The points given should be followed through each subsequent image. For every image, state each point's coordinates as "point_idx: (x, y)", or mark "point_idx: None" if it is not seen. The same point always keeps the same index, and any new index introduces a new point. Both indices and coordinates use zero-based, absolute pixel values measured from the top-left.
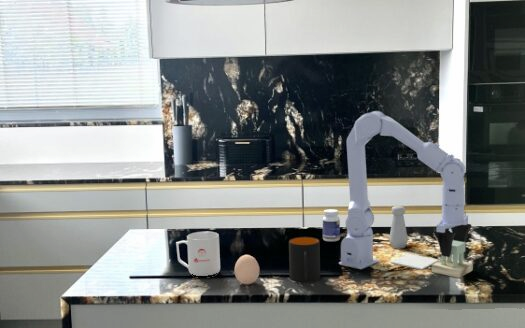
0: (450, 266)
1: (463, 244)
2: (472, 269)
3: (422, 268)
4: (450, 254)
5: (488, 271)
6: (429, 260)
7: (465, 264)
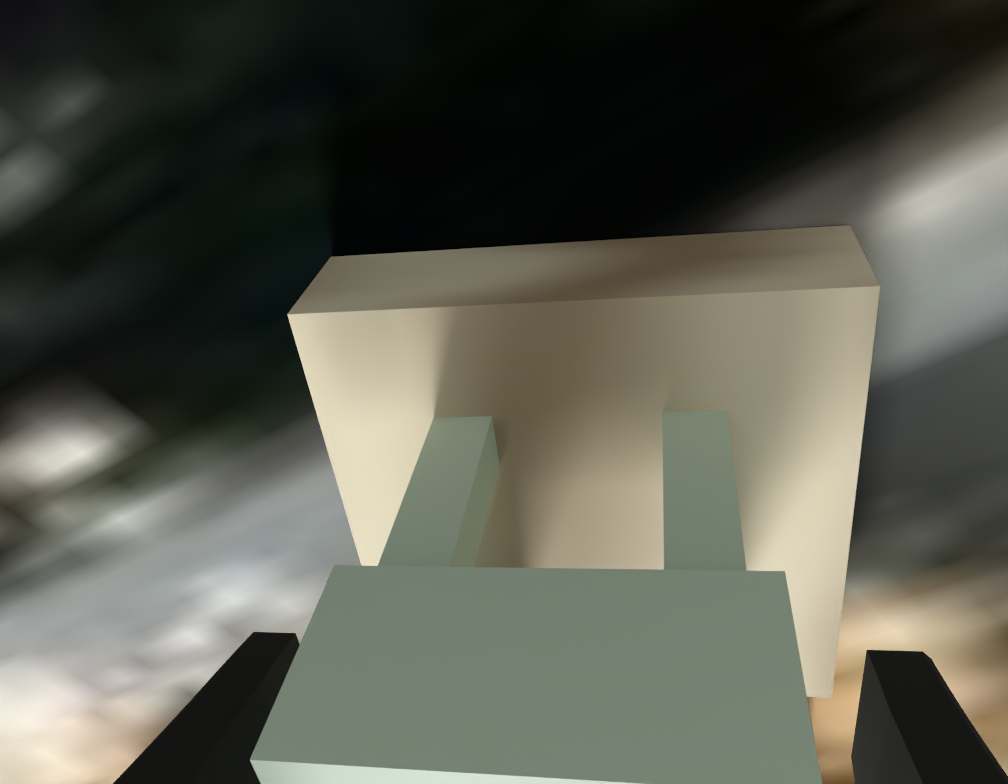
0: None
1: (380, 734)
2: (334, 263)
3: None
4: (884, 681)
5: (157, 29)
6: None
7: (444, 374)
